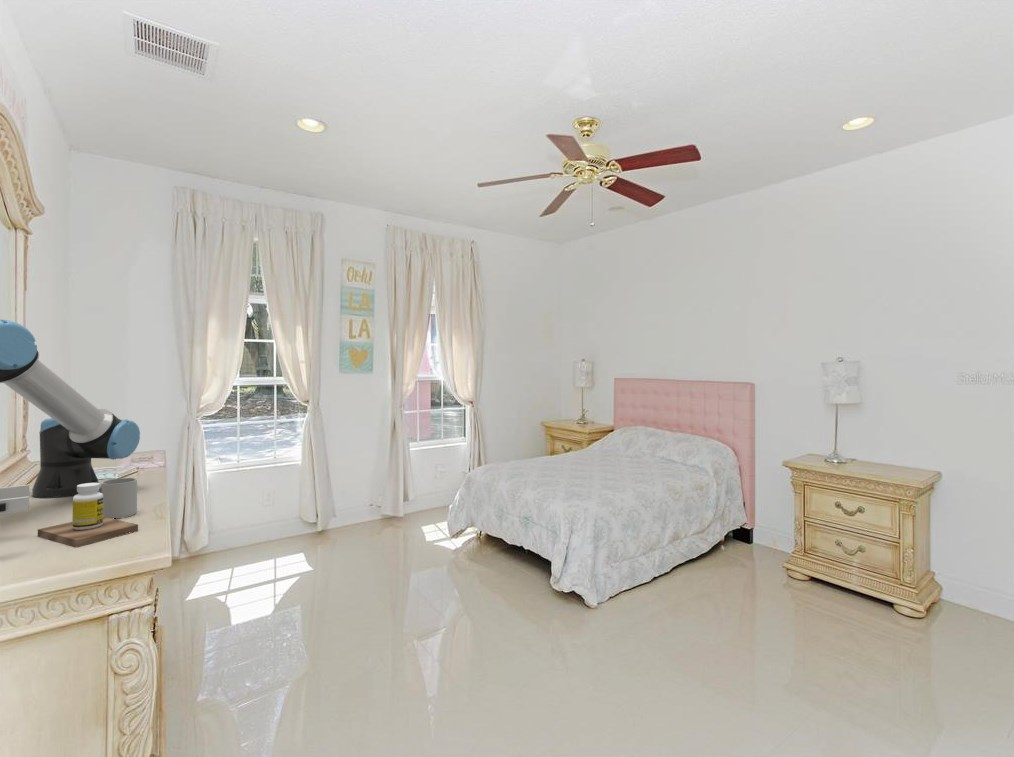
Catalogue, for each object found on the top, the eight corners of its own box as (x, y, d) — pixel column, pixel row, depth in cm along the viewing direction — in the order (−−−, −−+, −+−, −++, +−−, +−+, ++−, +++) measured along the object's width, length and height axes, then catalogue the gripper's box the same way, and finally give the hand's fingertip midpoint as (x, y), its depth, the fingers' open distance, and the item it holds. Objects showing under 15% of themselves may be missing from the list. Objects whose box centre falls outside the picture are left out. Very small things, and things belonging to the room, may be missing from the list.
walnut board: (37, 535, 113) (37, 529, 113) (99, 521, 124) (99, 515, 124) (76, 547, 106) (76, 540, 106) (138, 530, 117) (138, 524, 117)
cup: (102, 521, 124) (102, 485, 124) (100, 512, 131) (99, 478, 131) (138, 515, 129) (138, 481, 129) (134, 507, 136) (134, 475, 136)
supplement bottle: (101, 528, 114) (101, 485, 114) (70, 532, 111) (70, 488, 111) (104, 522, 119) (104, 480, 118) (74, 525, 116) (74, 483, 115)
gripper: (-113, 520, 103) (29, 502, 117) (-145, 554, 85) (29, 527, 99) (-114, 484, 103) (29, 470, 117) (-146, 510, 84) (28, 490, 99)
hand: (29, 496), depth 108 cm, fingers open, 13 cm apart
